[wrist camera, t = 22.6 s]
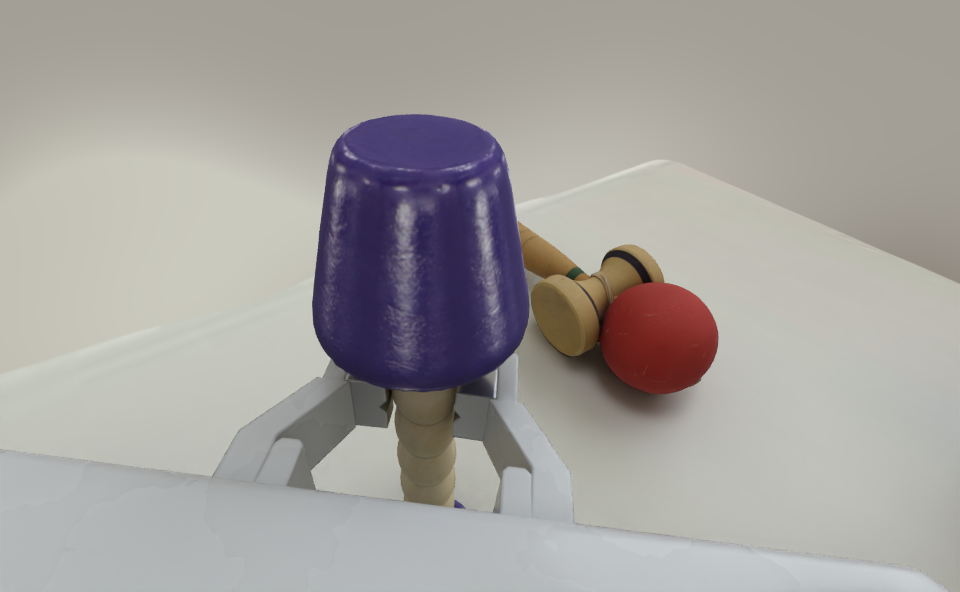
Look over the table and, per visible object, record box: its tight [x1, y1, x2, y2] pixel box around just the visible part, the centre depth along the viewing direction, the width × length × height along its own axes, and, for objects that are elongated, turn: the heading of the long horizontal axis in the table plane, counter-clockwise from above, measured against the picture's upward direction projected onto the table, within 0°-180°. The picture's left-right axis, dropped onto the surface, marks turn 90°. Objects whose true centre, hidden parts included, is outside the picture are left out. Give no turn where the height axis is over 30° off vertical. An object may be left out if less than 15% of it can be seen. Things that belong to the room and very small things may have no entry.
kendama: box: [517, 221, 718, 394], centre depth 29 cm, size 8×6×18 cm
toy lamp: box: [312, 114, 529, 509], centre depth 13 cm, size 5×5×17 cm
